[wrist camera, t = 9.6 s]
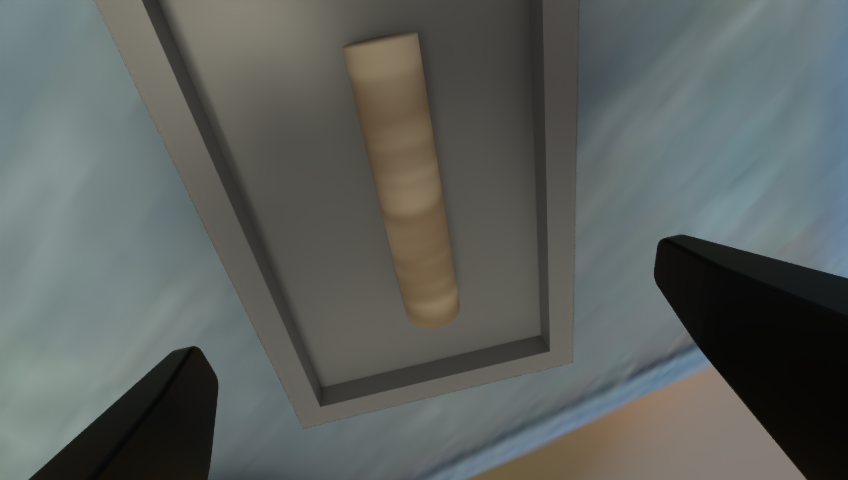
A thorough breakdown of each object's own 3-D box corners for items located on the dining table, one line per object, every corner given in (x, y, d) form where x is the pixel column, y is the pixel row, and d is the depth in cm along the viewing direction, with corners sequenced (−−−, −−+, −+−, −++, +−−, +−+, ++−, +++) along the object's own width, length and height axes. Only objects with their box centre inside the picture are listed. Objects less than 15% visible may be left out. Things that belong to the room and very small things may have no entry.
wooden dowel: (468, 321, 19) (520, 99, 11) (422, 346, 18) (440, 127, 10) (397, 228, 23) (395, 4, 14) (356, 246, 22) (327, 18, 13)
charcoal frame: (556, 336, 24) (572, 362, 22) (306, 396, 23) (303, 428, 22) (551, -124, 14) (581, -141, 12) (106, -42, 13) (70, -48, 11)
